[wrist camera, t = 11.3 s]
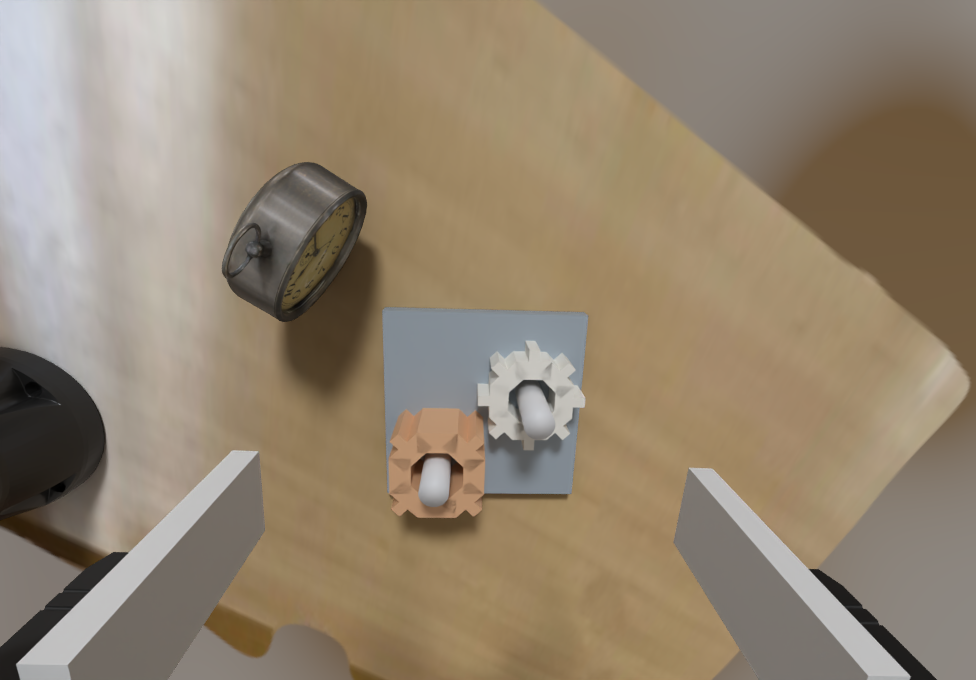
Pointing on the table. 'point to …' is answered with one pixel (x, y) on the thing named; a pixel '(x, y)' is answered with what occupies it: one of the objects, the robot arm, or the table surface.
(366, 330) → the table surface
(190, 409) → the table surface
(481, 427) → the loose gear
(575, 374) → the gear board
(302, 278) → the alarm clock
